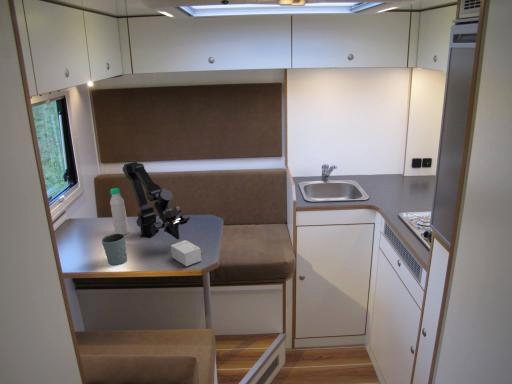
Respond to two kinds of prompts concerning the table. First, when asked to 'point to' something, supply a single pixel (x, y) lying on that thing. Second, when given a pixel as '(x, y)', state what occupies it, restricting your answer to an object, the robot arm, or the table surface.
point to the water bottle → (118, 212)
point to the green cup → (115, 248)
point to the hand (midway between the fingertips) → (178, 238)
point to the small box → (186, 253)
